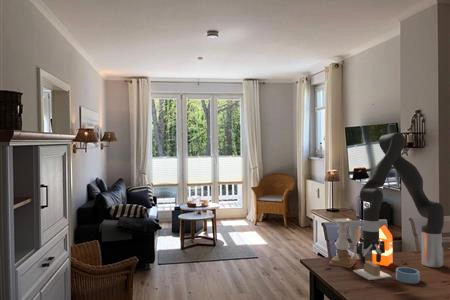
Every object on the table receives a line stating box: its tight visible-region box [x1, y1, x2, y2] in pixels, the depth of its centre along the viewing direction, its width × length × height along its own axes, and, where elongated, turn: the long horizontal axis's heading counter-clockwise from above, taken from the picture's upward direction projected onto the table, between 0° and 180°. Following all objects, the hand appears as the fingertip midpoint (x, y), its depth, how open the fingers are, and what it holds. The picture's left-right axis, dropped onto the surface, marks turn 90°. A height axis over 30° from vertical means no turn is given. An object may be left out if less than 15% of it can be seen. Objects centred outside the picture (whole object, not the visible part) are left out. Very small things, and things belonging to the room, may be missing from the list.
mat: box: [352, 270, 393, 281], centre depth 176 cm, size 13×13×1 cm
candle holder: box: [329, 217, 357, 269], centre depth 193 cm, size 11×11×24 cm
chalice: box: [348, 224, 362, 261], centre depth 202 cm, size 7×7×18 cm
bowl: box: [395, 266, 421, 285], centre depth 169 cm, size 10×10×5 cm
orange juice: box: [371, 224, 394, 267], centre depth 194 cm, size 8×9×20 cm
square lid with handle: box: [352, 260, 392, 281], centre depth 176 cm, size 12×12×5 cm
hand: (370, 262), depth 177 cm, fingers open, 8 cm apart
